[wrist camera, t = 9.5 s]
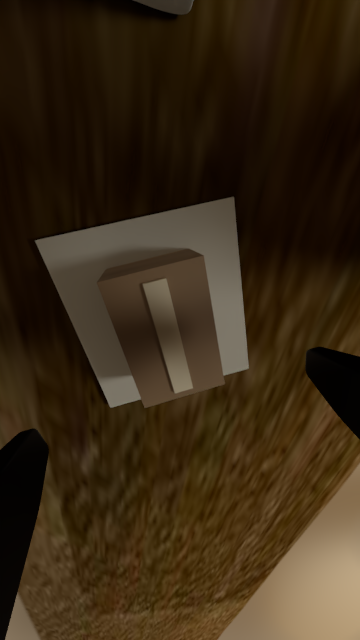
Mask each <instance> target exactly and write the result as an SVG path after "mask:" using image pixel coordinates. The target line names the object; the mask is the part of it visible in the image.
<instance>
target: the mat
mask: <svg viewBox="0 0 360 640" xmlns="http://www.w3.org/2000/svg"><path fill="white" fill-rule="evenodd" d="M35 242H36V244H37V247H38V249H39V251H40V253H41V255H42V258H43V260H44V262H45V264H46V266H47V269H48V271H49V273H50V275H51V278H52V280H53V282H54V284H55V286H56V289H57V291H58V293H59V295H60V297H61V300H62V302H63V304H64V306H65V308H66V311H67V313H68V315H69V317H70V319H71V322H72V324H73V326H74V328H75V331H76V333H77V335H78V337H79V339H80V342H81V344H82V346H83V348H84V350H85V353H86V355H87V357H88V359H89V361H90V364H91V366H92V368H93V370H94V372H95V375H96V377H97V379H98V381H99V384H100V386H101V388H102V390H103V392H104V395H105V397H106V399H107V401H108V403H109V406H110V408H111V407H115V406H118V405H122V404H126V403H129V402H133V401H136V400H140V399H141V397H140V394H139V392H138V389H137V387H136V384H135V381H134V379H133V376H132V374H131V371H130V368H129V366H128V363H127V361H126V358H125V355H124V353H123V350H122V347H121V345H120V342H119V340H118V337H117V334H116V332H115V329H114V327H113V324H112V321H111V319H110V316H109V314H108V311H107V308H106V306H105V303H104V301H103V298H102V295H101V293H100V290H99V288H98V285H97V281H98V280H99V278H100V277H101V275H102V274H103V273H104V271H105V270H106V269H108V268H112V267H116V266H120V265H124V264H128V263H132V262H136V261H140V260H144V259H148V258H152V257H156V256H160V255H164V254H168V253H172V252H176V251H180V250H184V249H188V248H189V249H191V250H193V251H195V252H197V253H200V254H202V255H204V260H205V266H206V272H207V278H208V284H209V290H210V297H211V303H212V309H213V315H214V321H215V327H216V333H217V339H218V345H219V351H220V357H221V363H222V370H223V376H224V375H227V374H231V373H234V372H238V371H241V370H245V369H248V368H249V366H248V355H247V343H246V331H245V320H244V308H243V296H242V285H241V273H240V261H239V250H238V238H237V226H236V215H235V203H234V197H230V198H225V199H221V200H216V201H212V202H207V203H203V204H198V205H194V206H189V207H184V208H180V209H175V210H171V211H166V212H162V213H157V214H153V215H148V216H144V217H139V218H134V219H130V220H125V221H121V222H116V223H112V224H107V225H103V226H98V227H94V228H89V229H84V230H80V231H75V232H71V233H66V234H62V235H57V236H53V237H48V238H44V239H39V240H35Z"/></svg>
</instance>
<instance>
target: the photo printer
mask: <svg viewBox="0 0 360 640" xmlns="http://www.w3.org/2000/svg"><path fill="white" fill-rule="evenodd" d="M133 1H136V2H139V3H141V4H144V5H147V6H149V7H152V8H155V9H158V10H161V11H164V12H168V13H173V14H182V15H183V14H187V13H188V12H189V11H190V9H191V7H192V4H193V1H194V0H133Z"/></svg>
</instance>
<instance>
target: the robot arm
mask: <svg viewBox="0 0 360 640" xmlns="http://www.w3.org/2000/svg"><path fill="white" fill-rule="evenodd" d="M305 369H306V373H307V375H308V377H309V378H310V380H311V381H312V382H313V383H314V385H315V386H316V387H317V389H318V390H319V391H320V393H321V394H322V395H323V397H324V398H325V399H326V401H327V402H328V403H329V405H330V406H331V407H332V409H333V410H334V411H335V412H336V414H337V415H338V416H339V417H340V418H341V419H342V421H343V422H344V423H345V424H346V425H347V426H348V427H349V428H350V429H351V431H352V432H353V433H354V434H355V435H356V436H357V437H358V438H359V439H360V357H359V356H355V355H351V354H347V353H343V352H339V351H335V350H331V349H327V348H324V347H315V348H312V349H309V350H307V352H306V367H305ZM48 454H49V449H48V445H47V443H46V442H45V441H44V439H43V438H42V436H41V435H40V433H39V432H38V430H36V429H29V430H26V431H22V432H20V433H18V434H17V435H16V436H15V437H14V438H13V439H12V440H11V441H10V442H8V443H7V444H6V445H5V446H4V447H3V448H2V449H1V450H0V640H5V637H6V633H7V630H8V626H9V622H10V618H11V614H12V611H13V607H14V603H15V599H16V595H17V592H18V588H19V584H20V580H21V576H22V573H23V569H24V565H25V561H26V557H27V554H28V550H29V546H30V542H31V538H32V535H33V531H34V527H35V523H36V519H37V515H38V511H39V506H40V501H41V496H42V490H43V484H44V478H45V472H46V466H47V460H48Z"/></svg>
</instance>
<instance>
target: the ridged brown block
mask: <svg viewBox="0 0 360 640" xmlns="http://www.w3.org/2000/svg"><path fill="white" fill-rule="evenodd" d="M97 285H98V288H99V290H100V293H101V295H102V298H103V301H104V303H105V306H106V308H107V311H108V314H109V316H110V319H111V321H112V324H113V327H114V329H115V332H116V334H117V337H118V340H119V342H120V345H121V347H122V350H123V353H124V355H125V358H126V361H127V363H128V366H129V368H130V371H131V374H132V376H133V379H134V381H135V384H136V387H137V389H138V392H139V394H140V397H141V400H142V402H143V405H144V407H145V408H146V407H150V406H153V405H157V404H160V403H163V402H167V401H170V400H173V399H177V398H180V397H183V396H187V395H190V394H193V393H197V392H200V391H203V390H207V389H210V388H213V387H217V386H220V385H223V384H225V382H224V376H223V370H222V363H221V357H220V351H219V345H218V339H217V333H216V327H215V321H214V315H213V309H212V303H211V297H210V290H209V284H208V278H207V272H206V266H205V260H204V255H202V254H200V253H197V252H195V251H193V250H191V249H189V248H188V249H184V250H180V251H176V252H172V253H168V254H164V255H160V256H156V257H152V258H148V259H144V260H140V261H136V262H132V263H128V264H124V265H120V266H116V267H112V268H108V269H106V270H105V271H104V273H103V274H102V275H101V277H100V278H99V280H98V281H97Z"/></svg>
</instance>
